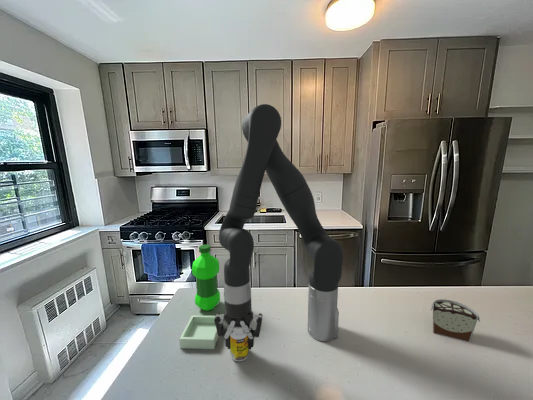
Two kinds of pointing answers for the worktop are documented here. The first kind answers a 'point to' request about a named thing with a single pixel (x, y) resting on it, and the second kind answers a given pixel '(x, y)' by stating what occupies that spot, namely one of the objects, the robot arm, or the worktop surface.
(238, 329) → the supplement bottle
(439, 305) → the mint chocolate cake slice
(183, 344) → the tray
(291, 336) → the worktop surface
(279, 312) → the worktop surface
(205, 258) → the plastic bottle
